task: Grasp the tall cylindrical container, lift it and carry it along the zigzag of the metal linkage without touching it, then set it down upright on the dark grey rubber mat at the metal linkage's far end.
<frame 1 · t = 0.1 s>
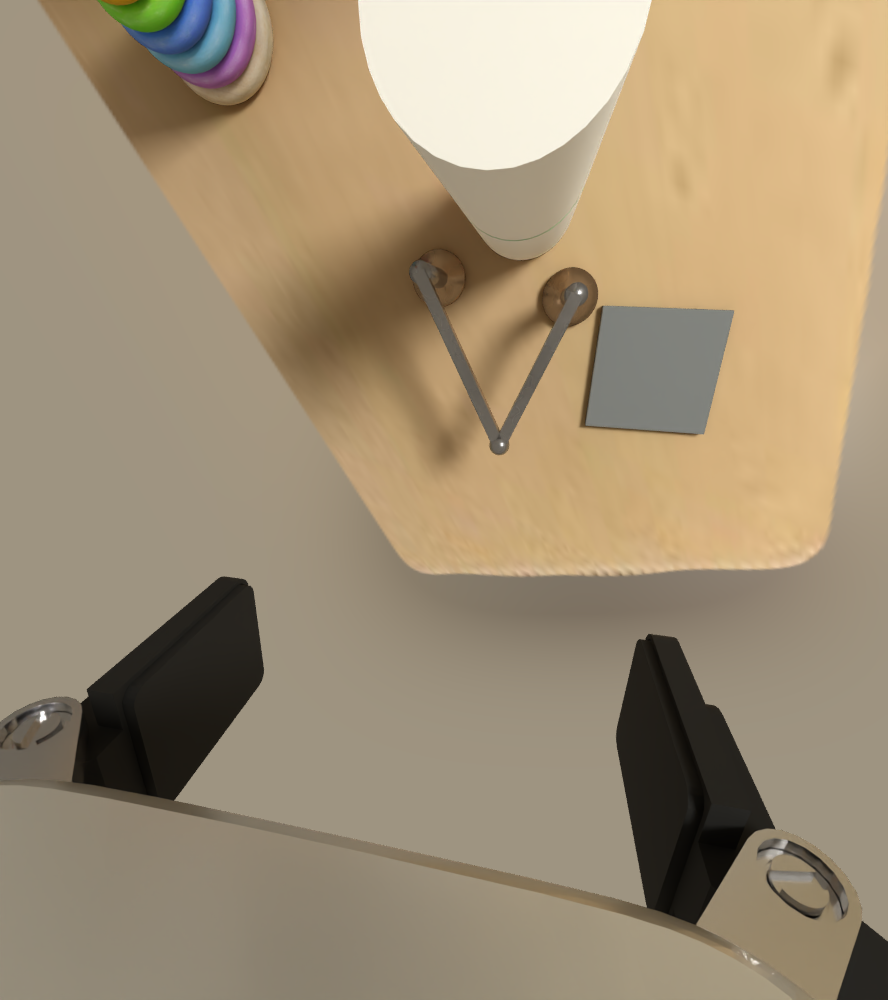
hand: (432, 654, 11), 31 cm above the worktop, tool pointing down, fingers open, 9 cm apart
metal linkage: (511, 349, 38), on the worktop
cylindrical container: (523, 205, 35), on the worktop
mat: (653, 370, 37), on the worktop
stacking toy: (227, 42, 34), on the worktop
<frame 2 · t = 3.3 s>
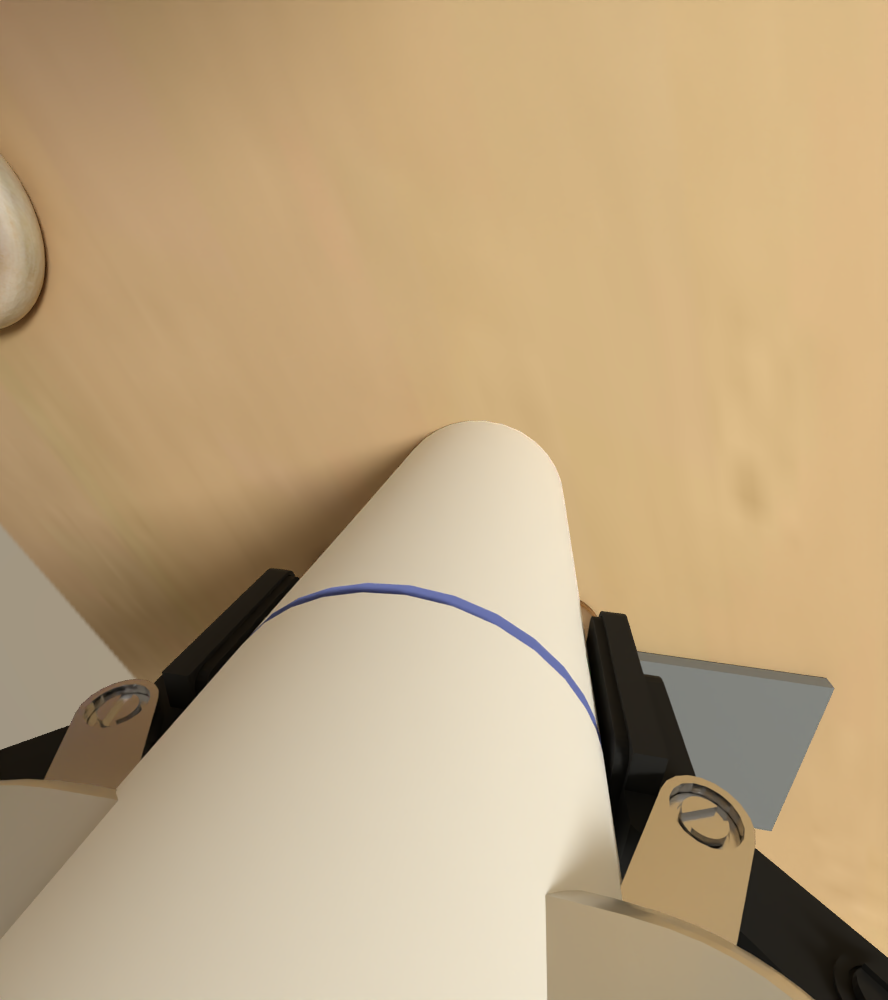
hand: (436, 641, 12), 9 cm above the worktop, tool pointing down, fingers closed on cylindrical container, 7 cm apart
cylindrical container: (478, 501, 21), on the worktop, touching gripper
mat: (691, 737, 23), on the worktop
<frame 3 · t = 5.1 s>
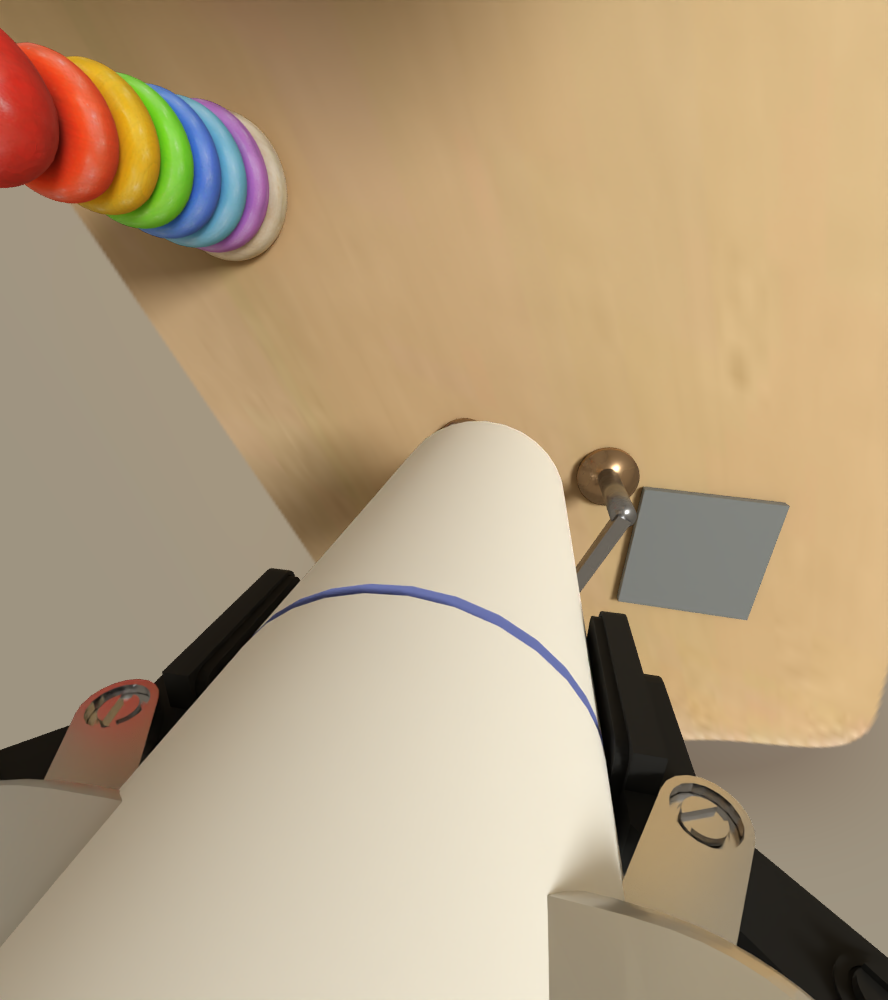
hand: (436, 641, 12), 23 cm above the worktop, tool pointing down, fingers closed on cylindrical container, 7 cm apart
metal linkage: (540, 520, 35), on the worktop
cylindrical container: (479, 501, 21), point 14 cm above the worktop, touching gripper
mat: (695, 553, 34), on the worktop
stacking toy: (236, 192, 31), on the worktop
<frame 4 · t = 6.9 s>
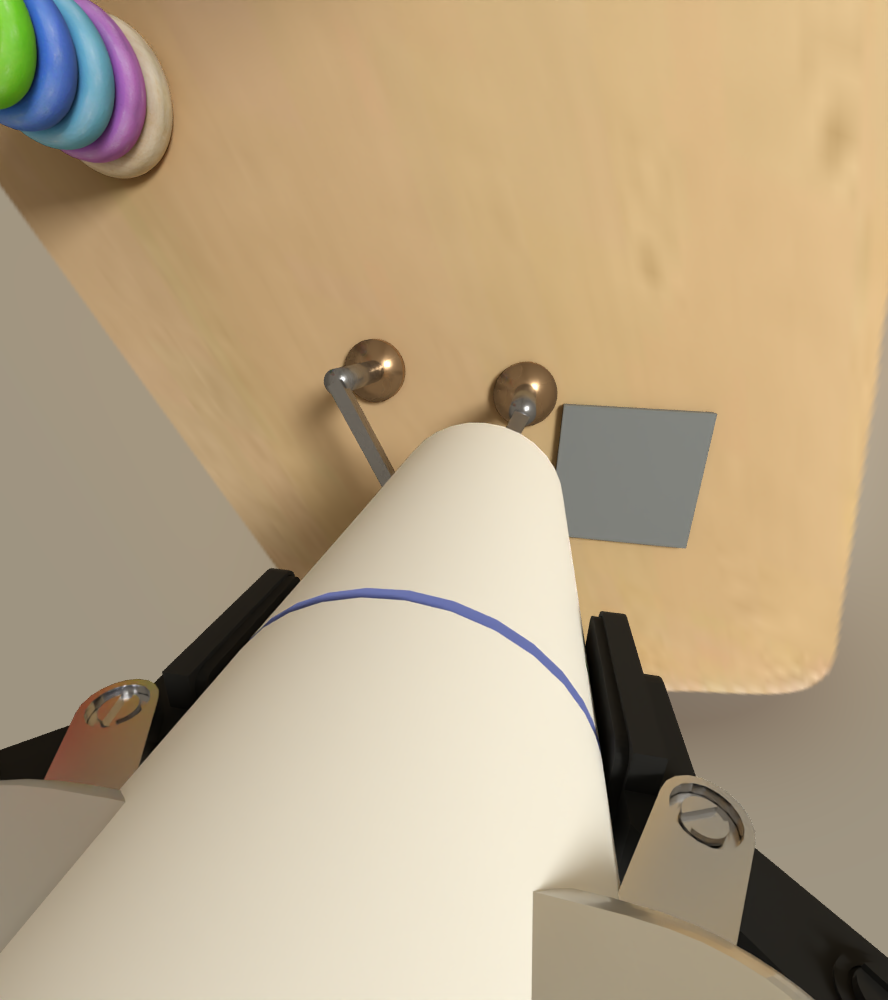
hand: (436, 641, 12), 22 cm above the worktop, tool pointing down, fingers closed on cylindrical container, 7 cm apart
metal linkage: (461, 449, 33), on the worktop
cylindrical container: (478, 503, 21), point 13 cm above the worktop, touching gripper
mat: (625, 476, 32), on the worktop
stacking toy: (123, 107, 29), on the worktop
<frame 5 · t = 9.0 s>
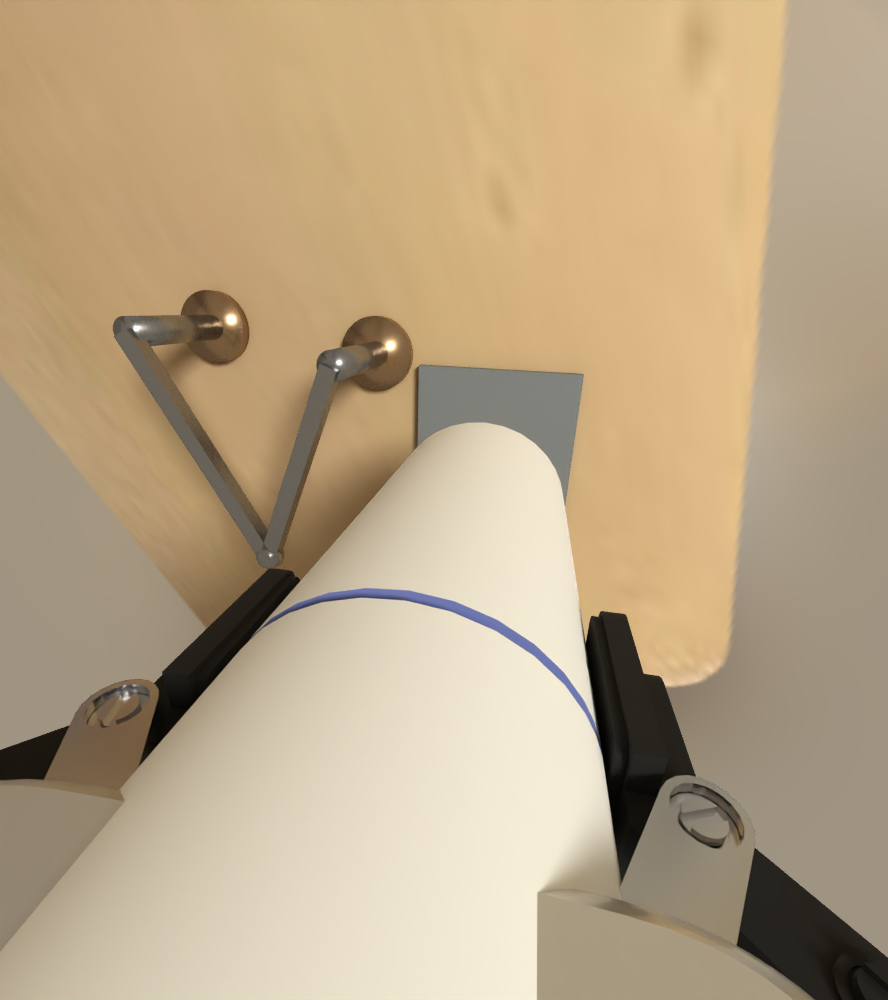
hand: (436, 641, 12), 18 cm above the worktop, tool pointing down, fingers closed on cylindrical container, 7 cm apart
metal linkage: (317, 416, 30), on the worktop
cylindrical container: (478, 503, 21), point 9 cm above the worktop, touching gripper
mat: (493, 447, 28), on the worktop
when the fingers open (11 cm above the worktop, at t = 10.8 s): cylindrical container stays where it is, resting on mat.
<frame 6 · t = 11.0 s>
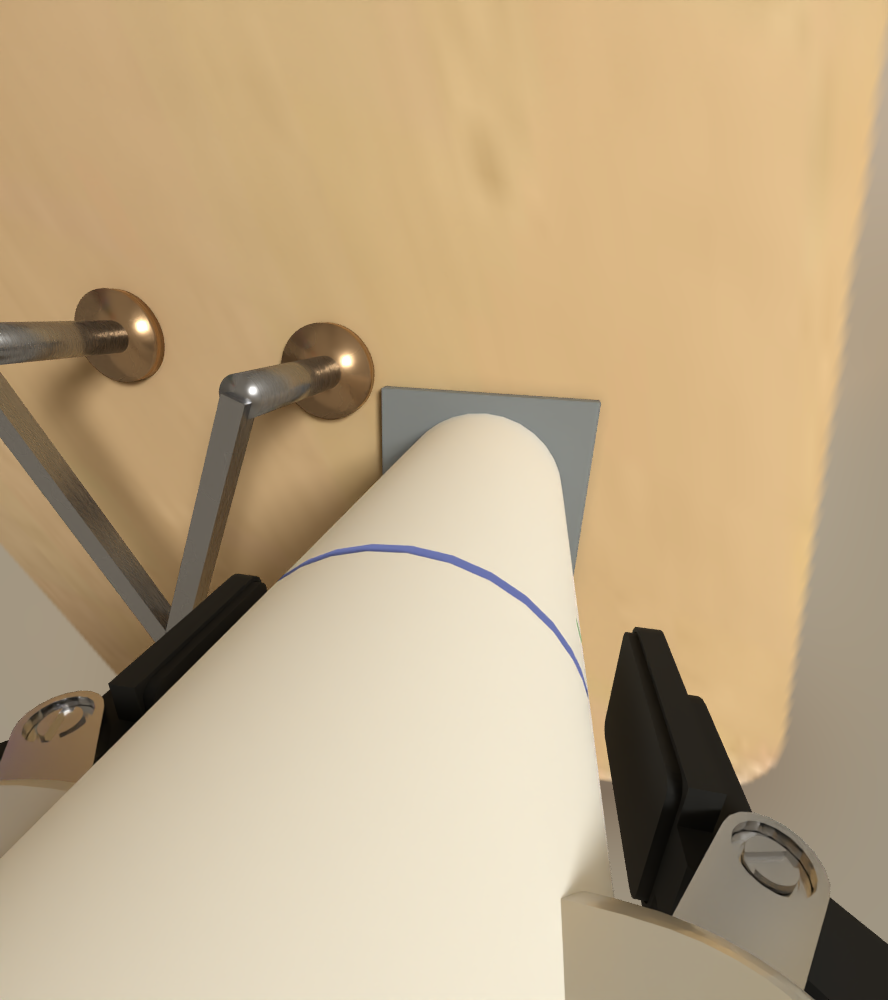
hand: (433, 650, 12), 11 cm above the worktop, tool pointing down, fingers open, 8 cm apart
metal linkage: (256, 451, 23), on the worktop
cylindrical container: (479, 492, 21), resting on mat
mat: (481, 492, 22), on the worktop
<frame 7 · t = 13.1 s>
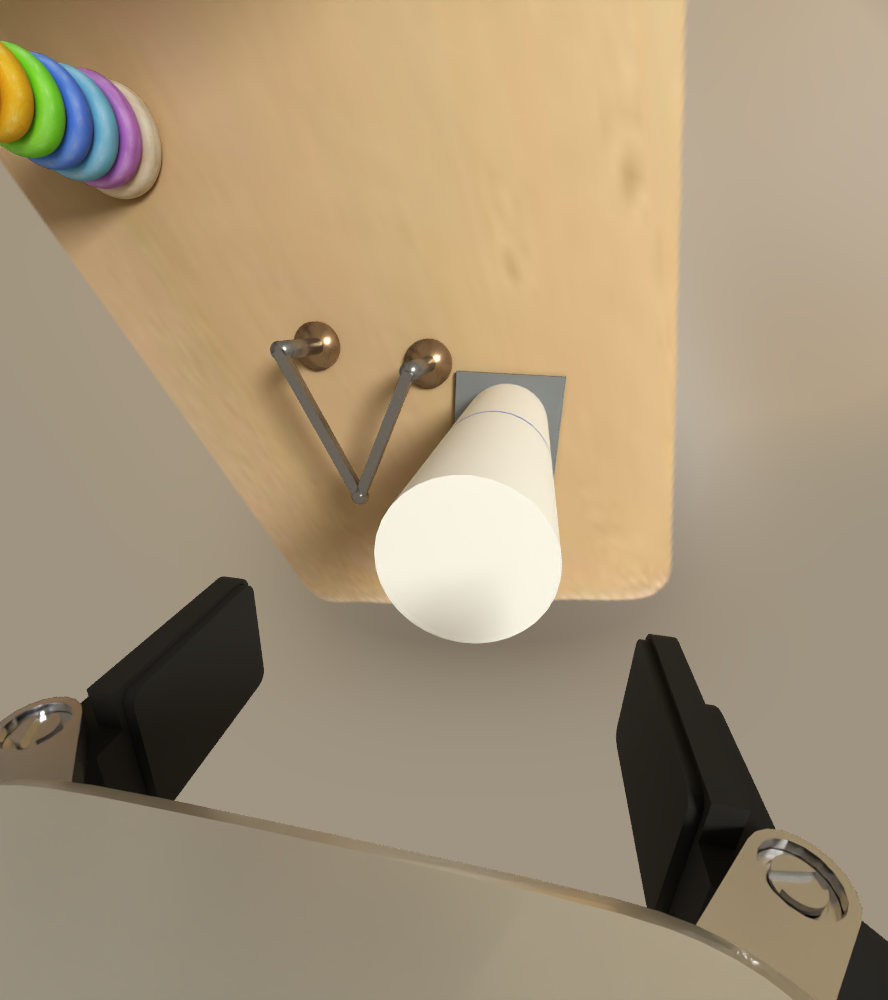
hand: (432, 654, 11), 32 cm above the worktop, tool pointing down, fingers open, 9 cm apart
metal linkage: (384, 406, 43), on the worktop
cylindrical container: (505, 425, 41), resting on mat
mat: (506, 426, 42), on the worktop
stacking toy: (125, 146, 39), on the worktop
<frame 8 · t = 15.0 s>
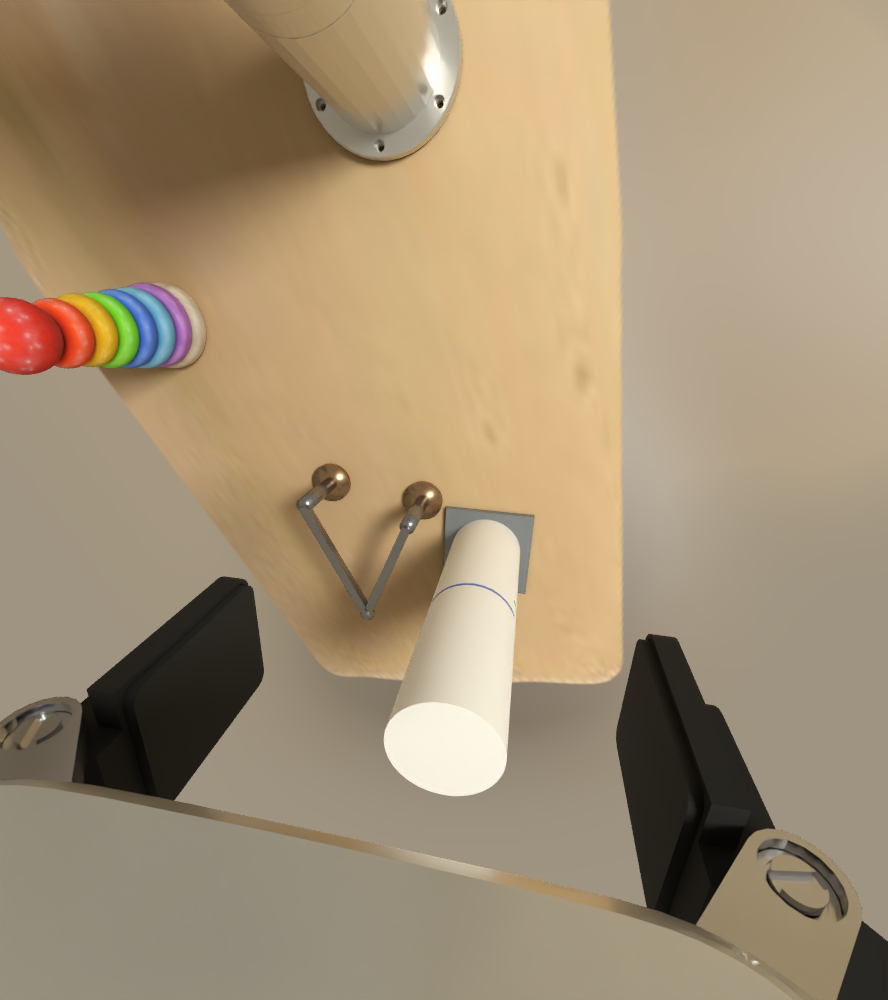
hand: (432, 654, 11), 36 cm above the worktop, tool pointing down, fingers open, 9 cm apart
metal linkage: (387, 529, 52), on the worktop
cylindrical container: (486, 549, 50), resting on mat
mat: (486, 549, 51), on the worktop
stacking toy: (175, 326, 48), on the worktop
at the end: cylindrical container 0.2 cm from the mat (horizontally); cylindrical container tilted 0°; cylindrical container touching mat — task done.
